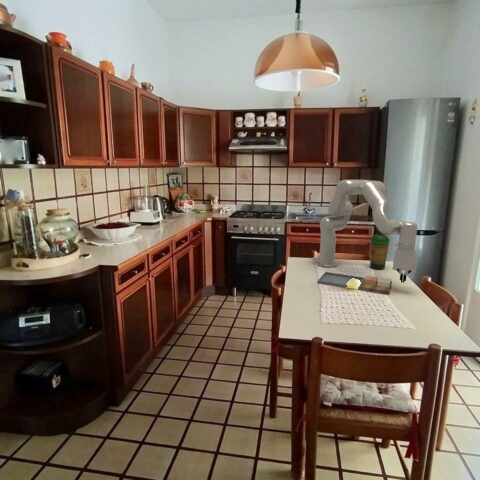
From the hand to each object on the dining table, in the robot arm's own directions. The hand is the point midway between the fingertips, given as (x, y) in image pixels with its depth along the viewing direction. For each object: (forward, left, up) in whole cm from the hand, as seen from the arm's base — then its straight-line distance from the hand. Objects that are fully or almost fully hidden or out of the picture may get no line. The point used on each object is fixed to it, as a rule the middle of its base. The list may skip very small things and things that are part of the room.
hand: (402, 281), depth 174 cm
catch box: (-30, 0, -5) cm, 31 cm away
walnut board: (-12, 0, -5) cm, 13 cm away
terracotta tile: (-15, 0, -3) cm, 16 cm away
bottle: (-15, +38, -5) cm, 41 cm away
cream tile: (-9, 0, -3) cm, 9 cm away
